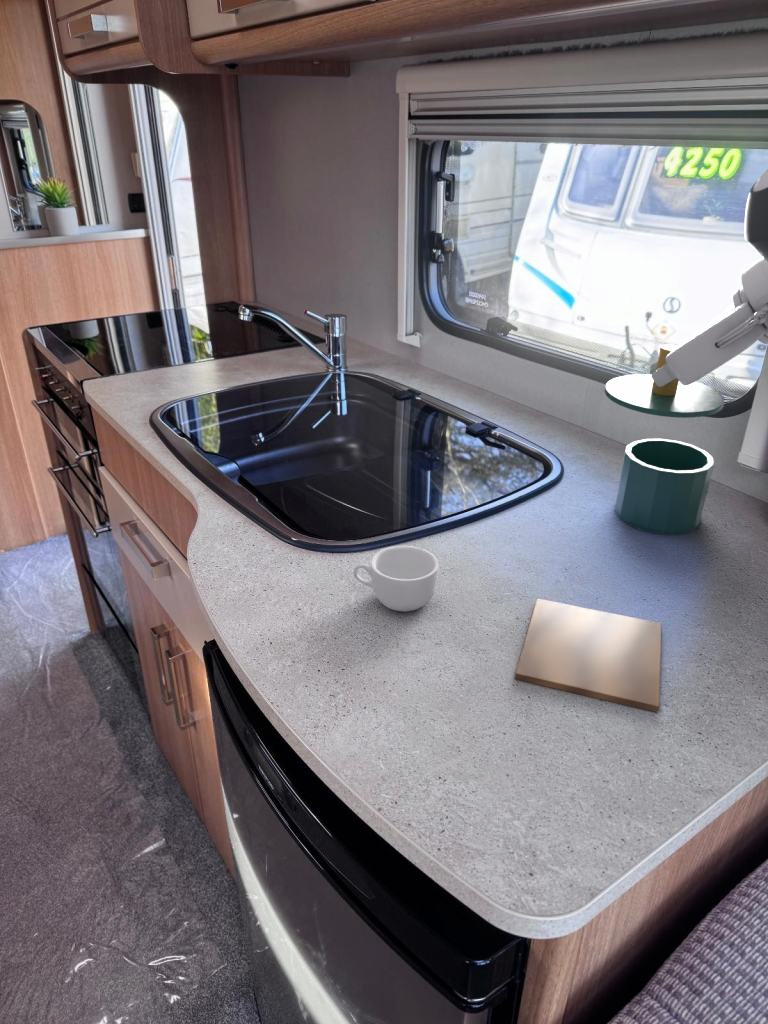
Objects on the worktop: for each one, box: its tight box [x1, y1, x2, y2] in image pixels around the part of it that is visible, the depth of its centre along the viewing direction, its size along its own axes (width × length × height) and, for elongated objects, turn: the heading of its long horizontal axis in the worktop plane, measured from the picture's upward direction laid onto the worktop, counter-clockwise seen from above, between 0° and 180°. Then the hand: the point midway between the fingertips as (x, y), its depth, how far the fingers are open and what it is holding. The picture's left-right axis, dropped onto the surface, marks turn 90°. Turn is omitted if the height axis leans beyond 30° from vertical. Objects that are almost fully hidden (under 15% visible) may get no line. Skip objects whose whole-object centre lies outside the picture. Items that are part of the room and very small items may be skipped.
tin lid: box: [604, 344, 725, 419], centre depth 80 cm, size 13×13×6 cm
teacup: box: [353, 545, 440, 613], centre depth 85 cm, size 10×8×5 cm
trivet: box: [514, 597, 663, 713], centre depth 78 cm, size 14×14×1 cm
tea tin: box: [614, 438, 715, 536], centre depth 103 cm, size 12×12×10 cm
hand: (662, 375), depth 80 cm, fingers closed on tin lid, 2 cm apart
